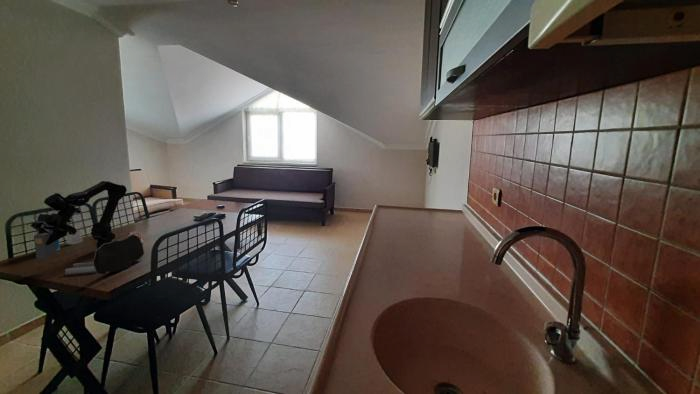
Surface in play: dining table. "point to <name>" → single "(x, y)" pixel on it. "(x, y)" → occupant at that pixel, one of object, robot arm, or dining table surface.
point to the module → (44, 246)
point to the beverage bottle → (52, 232)
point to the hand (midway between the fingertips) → (42, 244)
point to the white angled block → (74, 238)
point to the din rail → (81, 269)
